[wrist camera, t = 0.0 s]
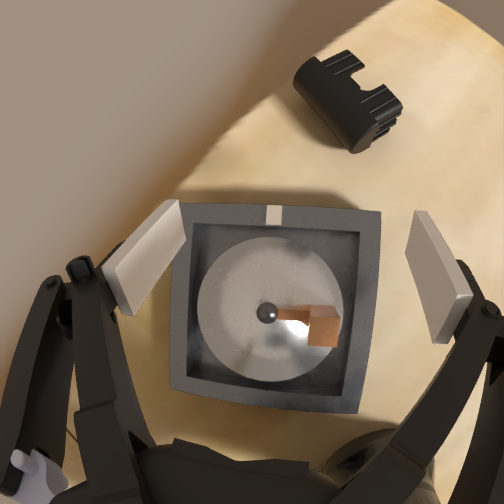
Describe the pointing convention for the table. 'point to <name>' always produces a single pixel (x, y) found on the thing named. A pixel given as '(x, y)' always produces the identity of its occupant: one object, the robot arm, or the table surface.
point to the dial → (270, 309)
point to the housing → (320, 242)
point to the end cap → (347, 100)
